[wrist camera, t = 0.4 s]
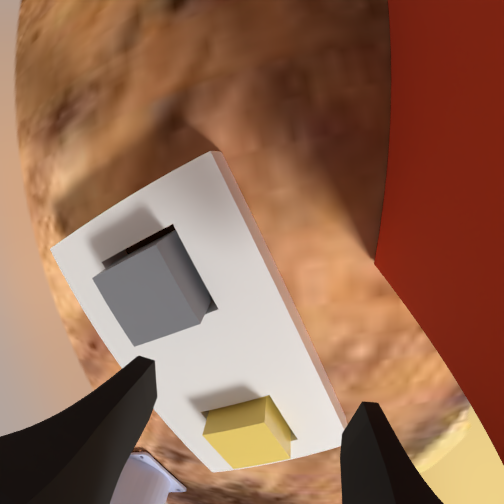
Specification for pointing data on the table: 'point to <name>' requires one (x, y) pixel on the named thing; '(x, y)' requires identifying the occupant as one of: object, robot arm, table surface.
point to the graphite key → (154, 290)
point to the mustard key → (249, 433)
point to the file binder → (450, 189)
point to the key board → (211, 311)
